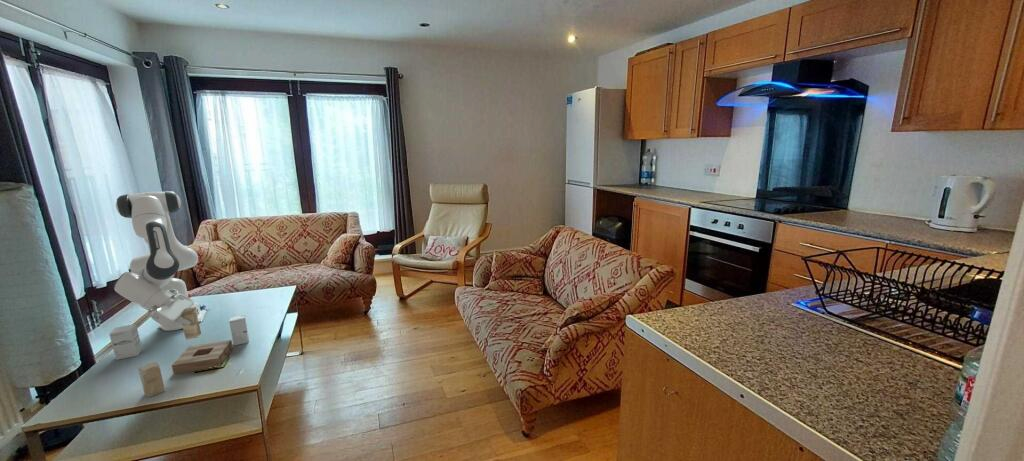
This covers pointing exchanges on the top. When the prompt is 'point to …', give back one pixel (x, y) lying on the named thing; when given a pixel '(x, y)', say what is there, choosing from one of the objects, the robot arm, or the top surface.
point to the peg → (193, 328)
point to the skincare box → (239, 330)
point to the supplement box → (125, 341)
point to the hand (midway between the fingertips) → (193, 320)
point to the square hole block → (202, 356)
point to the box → (151, 379)
